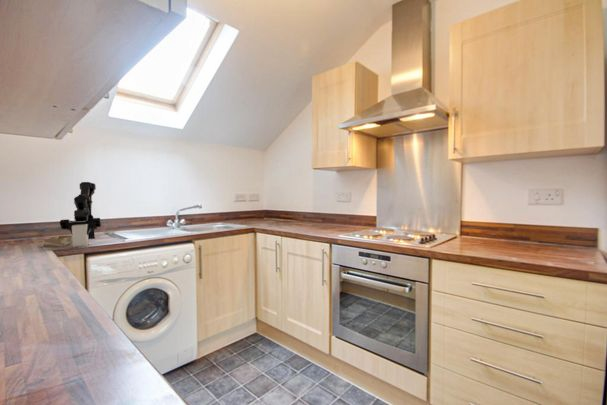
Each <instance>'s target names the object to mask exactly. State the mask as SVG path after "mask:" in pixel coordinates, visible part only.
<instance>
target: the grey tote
mask: <svg viewBox="0 0 607 405" xmlns="http://www.w3.org/2000/svg"><path fill="white" fill-rule="evenodd" d="M87 229H88V224H81V225H73V226H72V234H71V236H72V241H73V244H72V248H83V247H88V246H89V240H90V239H88V235H87Z"/></svg>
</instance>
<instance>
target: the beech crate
mask: <svg viewBox="0 0 607 405" xmlns="http://www.w3.org/2000/svg"><path fill="white" fill-rule="evenodd" d="M42 245H43V247H44V248H48V247H49V248H50V246H63V247H67V246H71V245H73V241H72V235H56V236H51V237H47V238H42ZM66 245H67V246H66Z"/></svg>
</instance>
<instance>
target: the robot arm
mask: <svg viewBox="0 0 607 405" xmlns="http://www.w3.org/2000/svg"><path fill="white" fill-rule="evenodd" d="M96 189H97V186H96V184H95V183H94V182H90V181H81V183H79V190H80V193H79V194H78V195H77V196H75V197H74V198H73V203H74V205H75V208H76V210H75V209H74V211H73V216H74V219H73V220H74V221H72V220H70V219H61V220H59V226H60V228H61V229H62V230H67V231H70V234H71V235H72V226H73V225H81V224H88V229H87V235H88V240H91V239H96V236H95V230H97V229H98V228H100V227H102V221H101V218H100V217H94V216H93V214H92V203H93V197H92V196H93V195H94V194H95V190H96Z"/></svg>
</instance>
